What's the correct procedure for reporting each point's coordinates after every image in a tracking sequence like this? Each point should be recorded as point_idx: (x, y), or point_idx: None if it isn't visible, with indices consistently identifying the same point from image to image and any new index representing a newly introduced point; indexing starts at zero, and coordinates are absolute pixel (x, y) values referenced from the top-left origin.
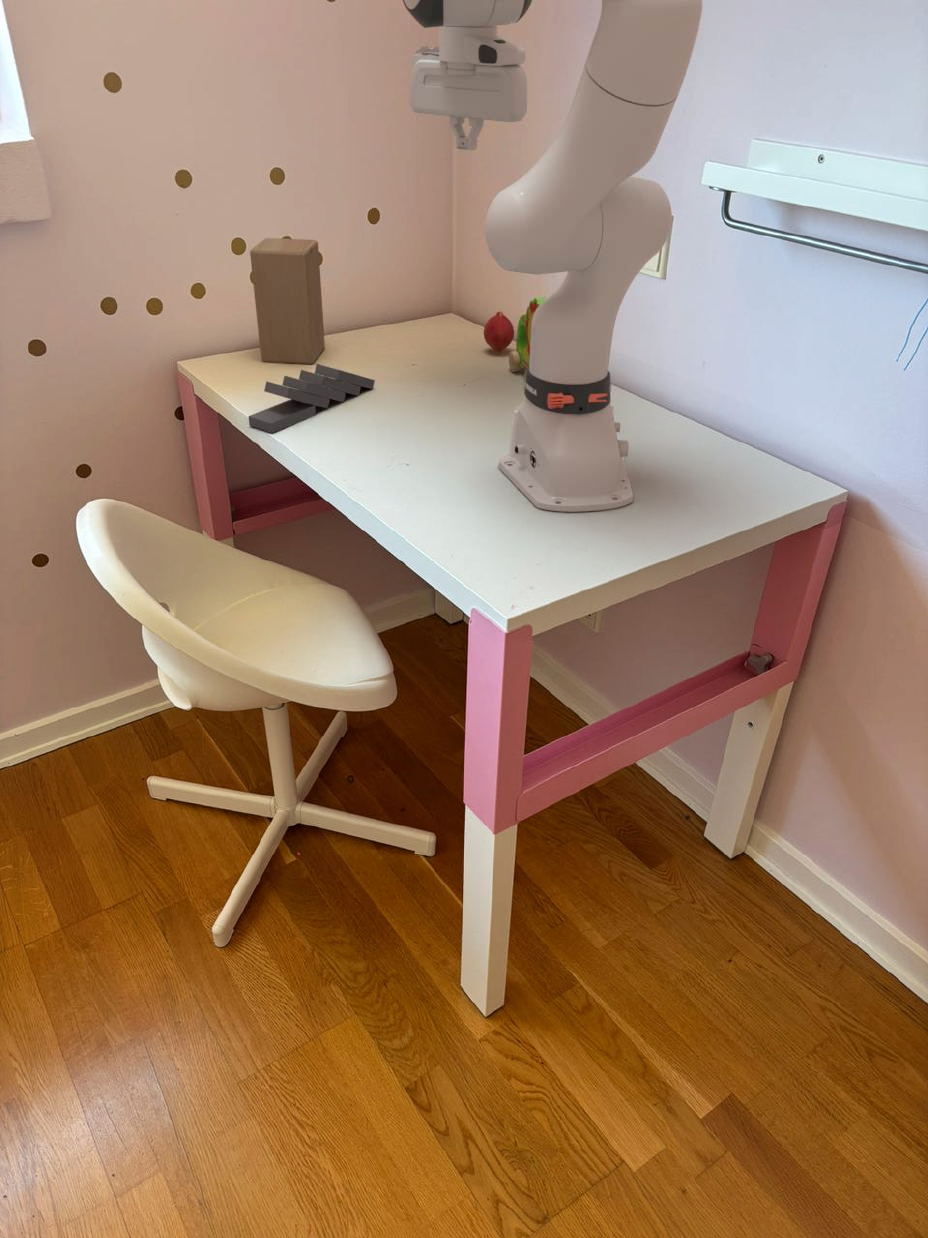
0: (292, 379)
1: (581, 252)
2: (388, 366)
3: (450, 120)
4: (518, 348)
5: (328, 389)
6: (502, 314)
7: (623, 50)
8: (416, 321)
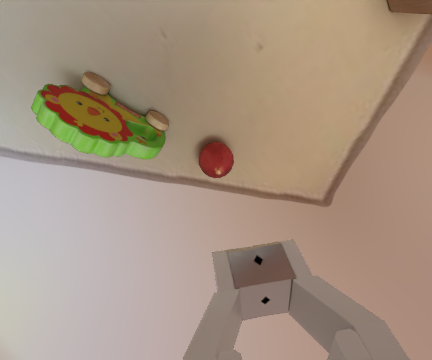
0: None
1: None
2: (281, 17)
3: (391, 342)
4: (156, 130)
5: None
6: (215, 172)
7: None
8: (339, 160)
